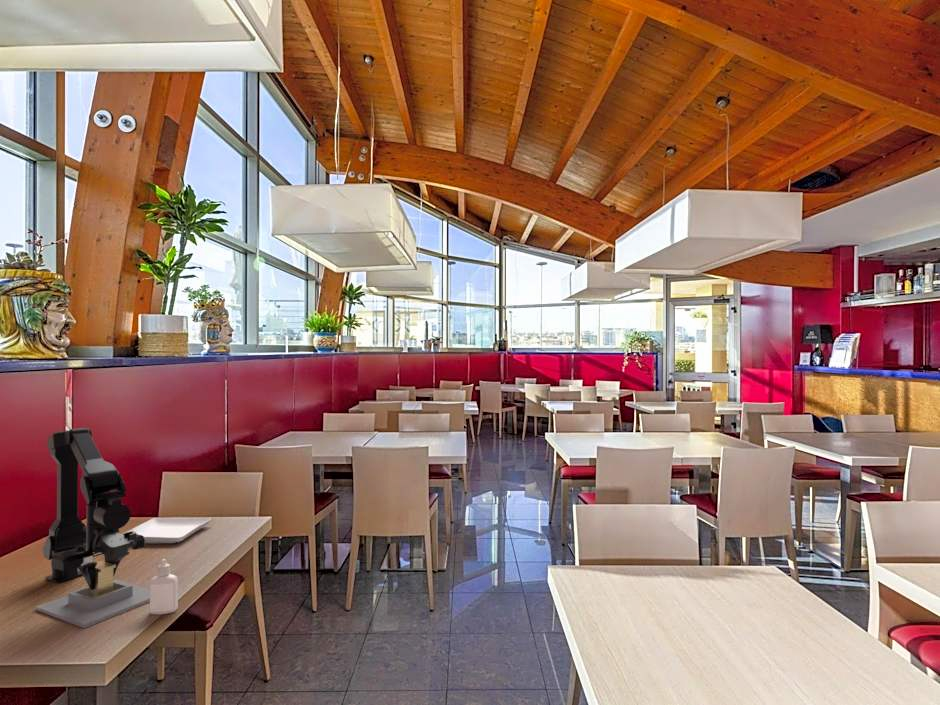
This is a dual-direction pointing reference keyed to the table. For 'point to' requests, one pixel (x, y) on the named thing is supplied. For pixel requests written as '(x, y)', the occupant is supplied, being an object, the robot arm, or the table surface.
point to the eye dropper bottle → (163, 591)
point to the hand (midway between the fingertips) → (100, 586)
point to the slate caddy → (96, 604)
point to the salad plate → (169, 529)
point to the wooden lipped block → (103, 578)
